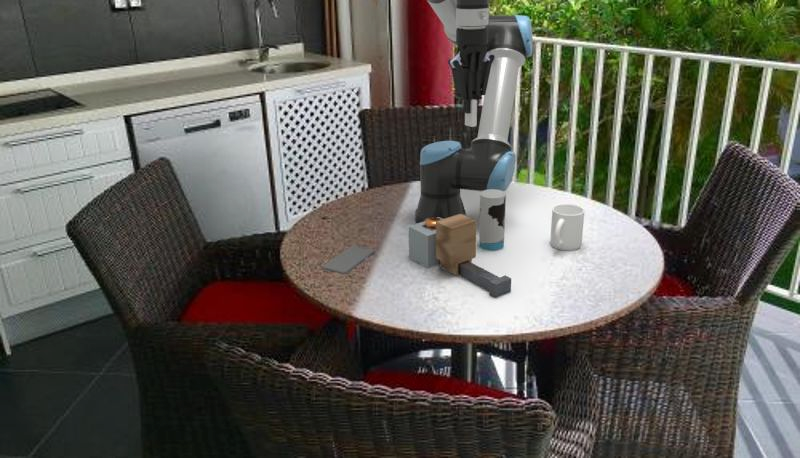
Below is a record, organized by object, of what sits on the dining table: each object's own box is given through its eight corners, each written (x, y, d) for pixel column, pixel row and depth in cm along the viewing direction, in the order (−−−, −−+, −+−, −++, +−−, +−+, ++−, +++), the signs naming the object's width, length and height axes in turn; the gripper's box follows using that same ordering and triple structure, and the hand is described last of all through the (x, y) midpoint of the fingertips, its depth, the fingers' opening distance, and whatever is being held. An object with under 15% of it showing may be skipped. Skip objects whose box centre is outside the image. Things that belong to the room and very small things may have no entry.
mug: (569, 259, 176) (572, 222, 172) (539, 251, 181) (541, 215, 177) (586, 242, 185) (589, 207, 181) (557, 236, 190) (559, 201, 186)
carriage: (436, 268, 172) (435, 221, 167) (460, 259, 176) (460, 213, 171) (451, 276, 168) (451, 228, 163) (475, 267, 172) (476, 220, 167)
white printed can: (508, 248, 183) (510, 195, 177) (485, 252, 181) (487, 199, 175) (496, 238, 189) (498, 187, 183) (474, 242, 187) (475, 191, 181)
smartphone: (320, 266, 175) (352, 244, 187) (320, 270, 175) (352, 247, 187) (345, 272, 171) (376, 249, 183) (345, 276, 172) (376, 252, 183)
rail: (435, 265, 175) (435, 253, 173) (450, 260, 177) (450, 247, 176) (495, 298, 158) (495, 284, 157) (510, 291, 161) (511, 278, 160)
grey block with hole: (409, 257, 179) (408, 226, 176) (438, 247, 185) (438, 216, 181) (428, 268, 173) (427, 235, 170) (457, 257, 179) (458, 225, 175)
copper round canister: (421, 245, 178) (421, 220, 175) (434, 240, 180) (434, 216, 178) (432, 250, 175) (431, 225, 172) (445, 245, 177) (445, 221, 174)
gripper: (461, 30, 153) (460, 133, 162) (503, 25, 160) (500, 124, 169) (440, 28, 159) (440, 127, 168) (482, 23, 166) (480, 118, 175)
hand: (470, 125), depth 169 cm, fingers closed
